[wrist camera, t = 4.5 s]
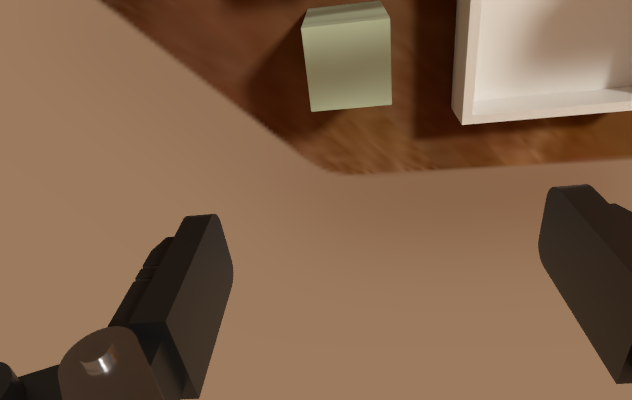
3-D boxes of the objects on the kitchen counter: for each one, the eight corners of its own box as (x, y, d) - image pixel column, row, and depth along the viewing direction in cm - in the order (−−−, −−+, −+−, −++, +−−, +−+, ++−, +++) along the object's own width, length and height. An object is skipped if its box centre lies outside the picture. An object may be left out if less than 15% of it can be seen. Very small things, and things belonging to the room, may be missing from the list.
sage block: (307, 8, 27) (300, 28, 22) (380, 0, 27) (390, 18, 22) (315, 79, 29) (311, 111, 24) (382, 73, 29) (391, 104, 24)
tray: (462, -106, 24) (478, -110, 21) (704, -139, 22) (752, -148, 20) (451, 107, 30) (461, 125, 27) (637, 90, 29) (667, 107, 26)
